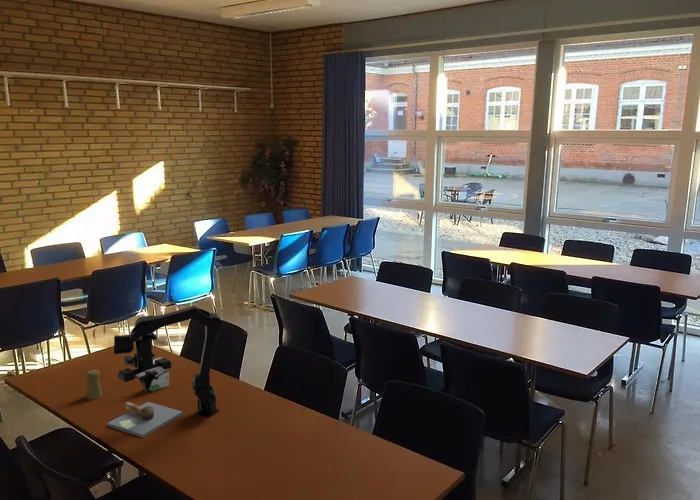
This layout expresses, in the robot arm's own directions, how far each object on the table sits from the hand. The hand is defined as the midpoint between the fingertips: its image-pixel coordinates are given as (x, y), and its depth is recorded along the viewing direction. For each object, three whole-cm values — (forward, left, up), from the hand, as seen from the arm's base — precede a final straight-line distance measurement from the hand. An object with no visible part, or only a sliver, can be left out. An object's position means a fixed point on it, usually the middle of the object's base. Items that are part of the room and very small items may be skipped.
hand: (146, 390), depth 213 cm
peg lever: (+5, 0, -10) cm, 11 cm away
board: (+1, 0, -12) cm, 12 cm away
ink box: (+19, -24, -12) cm, 33 cm away
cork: (+35, -5, -12) cm, 37 cm away
